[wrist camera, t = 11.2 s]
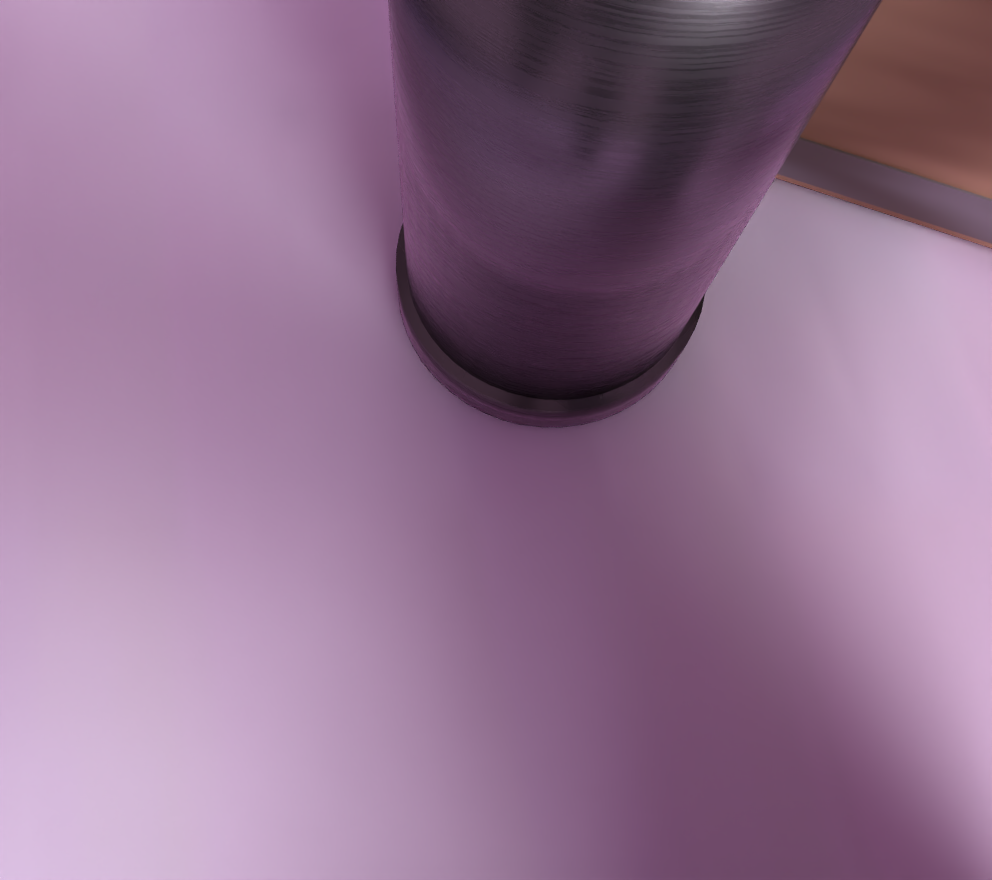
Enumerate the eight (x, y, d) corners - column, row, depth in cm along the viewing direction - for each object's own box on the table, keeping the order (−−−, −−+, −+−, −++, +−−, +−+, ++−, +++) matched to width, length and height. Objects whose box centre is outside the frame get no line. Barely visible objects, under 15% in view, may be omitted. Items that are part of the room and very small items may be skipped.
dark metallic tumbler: (596, 485, 18) (930, -41, 6) (338, 321, 19) (148, -458, 6) (744, 253, 20) (1248, -535, 7) (502, 110, 20) (599, -824, 8)
